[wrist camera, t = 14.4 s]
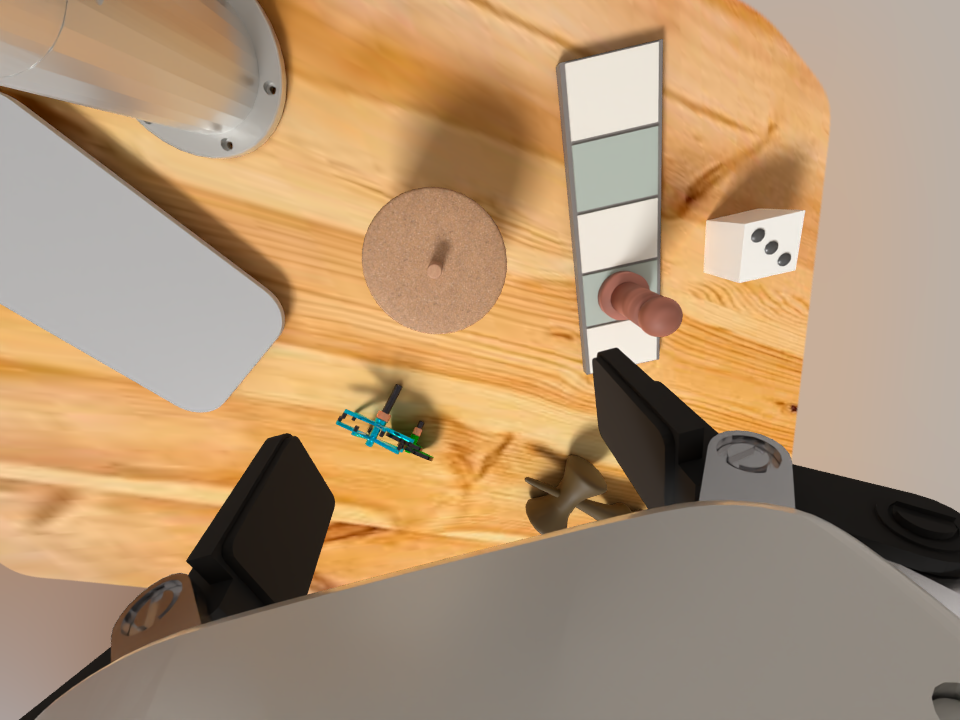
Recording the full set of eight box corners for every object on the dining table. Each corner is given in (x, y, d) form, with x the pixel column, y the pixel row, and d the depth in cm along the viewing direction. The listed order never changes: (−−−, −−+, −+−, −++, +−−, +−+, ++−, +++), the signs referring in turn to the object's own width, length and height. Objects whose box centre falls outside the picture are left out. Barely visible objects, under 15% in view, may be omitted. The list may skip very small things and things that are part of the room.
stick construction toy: (321, 423, 38) (346, 442, 32) (354, 365, 39) (383, 372, 33) (410, 458, 45) (444, 479, 39) (434, 407, 46) (470, 419, 40)
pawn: (596, 276, 34) (640, 301, 26) (643, 265, 34) (702, 287, 26) (598, 320, 36) (641, 356, 28) (643, 311, 36) (698, 344, 28)
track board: (556, 67, 28) (560, 62, 27) (656, 43, 28) (664, 37, 27) (583, 370, 40) (587, 375, 39) (654, 355, 40) (660, 359, 39)
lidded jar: (374, 294, 35) (348, 327, 26) (389, 174, 31) (364, 166, 22) (480, 317, 36) (489, 354, 28) (508, 206, 32) (529, 210, 24)
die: (705, 220, 34) (745, 224, 29) (758, 208, 34) (806, 210, 29) (703, 272, 36) (739, 283, 32) (752, 260, 36) (796, 270, 31)
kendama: (610, 535, 52) (498, 488, 46) (654, 490, 50) (542, 433, 43) (630, 574, 47) (506, 526, 41) (681, 526, 44) (557, 467, 38)
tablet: (219, 411, 39) (206, 423, 37) (-72, 237, 30) (-110, 240, 28) (305, 307, 35) (296, 314, 33) (-3, 71, 26) (-42, 61, 24)
